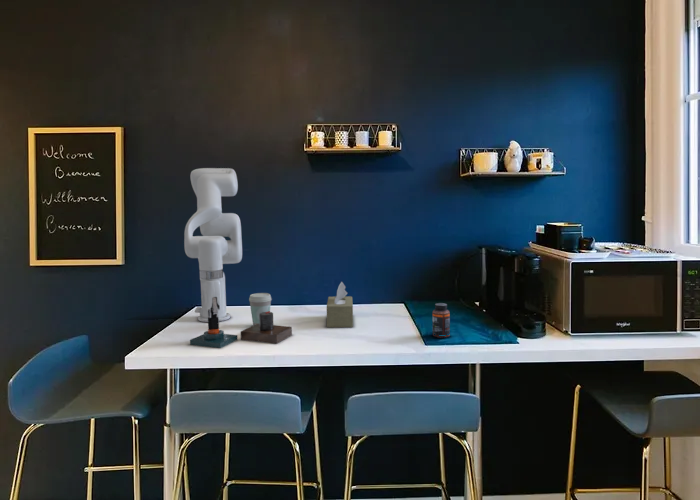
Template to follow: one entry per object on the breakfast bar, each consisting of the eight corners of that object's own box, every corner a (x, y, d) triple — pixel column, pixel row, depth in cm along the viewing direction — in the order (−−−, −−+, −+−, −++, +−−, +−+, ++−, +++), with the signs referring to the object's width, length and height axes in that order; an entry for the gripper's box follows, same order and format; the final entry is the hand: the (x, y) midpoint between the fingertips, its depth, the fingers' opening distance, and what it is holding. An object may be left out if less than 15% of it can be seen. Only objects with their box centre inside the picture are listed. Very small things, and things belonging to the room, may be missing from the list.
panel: (240, 339, 173) (240, 331, 173) (257, 331, 183) (257, 323, 183) (276, 343, 168) (276, 334, 168) (292, 335, 178) (291, 326, 178)
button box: (189, 344, 168) (189, 334, 168) (208, 336, 177) (208, 327, 177) (220, 348, 164) (219, 337, 163) (237, 340, 173) (237, 330, 173)
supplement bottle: (450, 334, 177) (451, 302, 176) (448, 339, 171) (448, 306, 170) (433, 333, 179) (434, 301, 178) (430, 337, 173) (431, 305, 172)
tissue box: (353, 327, 188) (352, 285, 186) (326, 327, 188) (326, 286, 186) (352, 315, 206) (352, 277, 205) (328, 315, 206) (328, 277, 205)
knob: (269, 331, 172) (268, 314, 172) (257, 330, 174) (256, 313, 173) (276, 327, 177) (275, 311, 176) (264, 326, 178) (263, 310, 178)
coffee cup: (253, 330, 186) (252, 298, 184) (246, 324, 193) (245, 294, 192) (275, 327, 190) (274, 295, 188) (268, 322, 197) (267, 291, 196)
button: (206, 334, 169) (205, 329, 169) (212, 331, 172) (212, 326, 172) (215, 335, 168) (214, 330, 168) (221, 332, 171) (221, 327, 171)
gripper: (196, 272, 173) (199, 325, 175) (203, 278, 160) (205, 335, 161) (218, 271, 176) (220, 322, 178) (227, 277, 163) (229, 332, 164)
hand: (213, 328), depth 170 cm, fingers closed
